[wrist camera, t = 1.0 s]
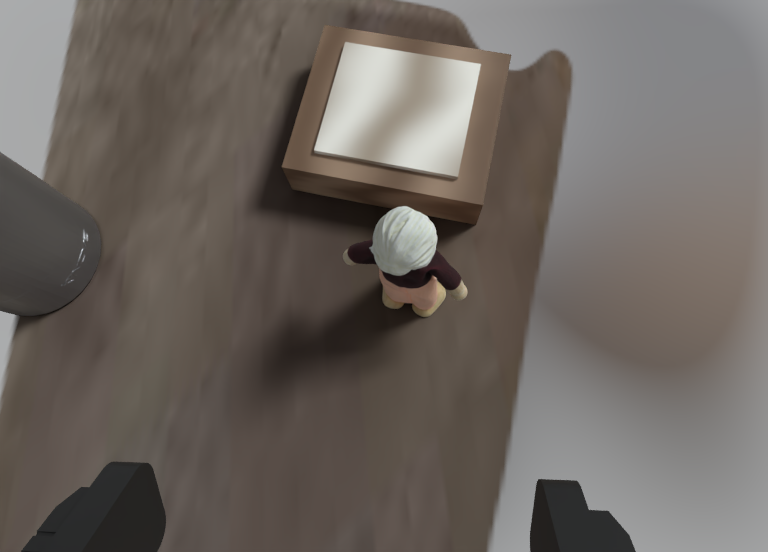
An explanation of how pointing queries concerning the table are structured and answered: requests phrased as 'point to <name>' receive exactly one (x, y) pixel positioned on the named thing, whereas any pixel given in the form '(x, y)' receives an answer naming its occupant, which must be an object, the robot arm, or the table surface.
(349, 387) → the table surface
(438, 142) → the stand
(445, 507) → the table surface
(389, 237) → the grandmother figurine
